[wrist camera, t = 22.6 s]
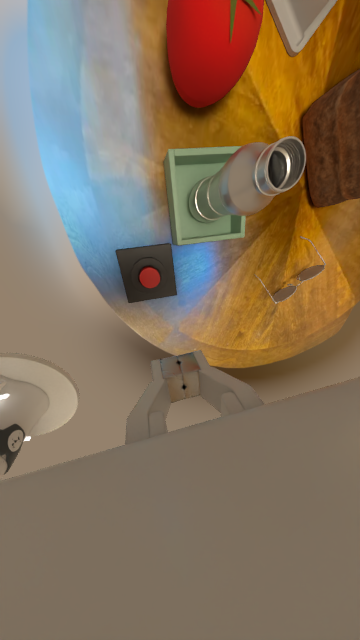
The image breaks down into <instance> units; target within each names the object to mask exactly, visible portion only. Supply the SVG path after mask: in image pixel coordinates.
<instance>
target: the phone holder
mask: <svg viewBox="0 0 360 640" xmlns="http://www.w3.org/2000/svg"><path fill="white" fill-rule="evenodd" d="M336 1H337V0H266V2H267V5H268V7H269V9H270V12H271V14H272V17H273V19H274V21H275V24H276V26H277V29H278V31H279V33H280V36H281V38H282V40H283V43H284V45H285V48H286V50H287V52H288V54H289V55H290V56H292V57H293V56H296V55H297V54H298V53H299V52H300V51H301V50H302V48H303V47H304V46H305V44H306V43H307V42H308V40H309V39H310V37H311V36H312V35H313V33H314V32H315V30H316V29H317V28H318V26H319V25H320V23H321V22H322V21H323V19H324V18H325V16H326V15H327V14H328V12H329V11H330V10H331V8H332V7H333V5H334V4H335V3H336Z"/></svg>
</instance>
